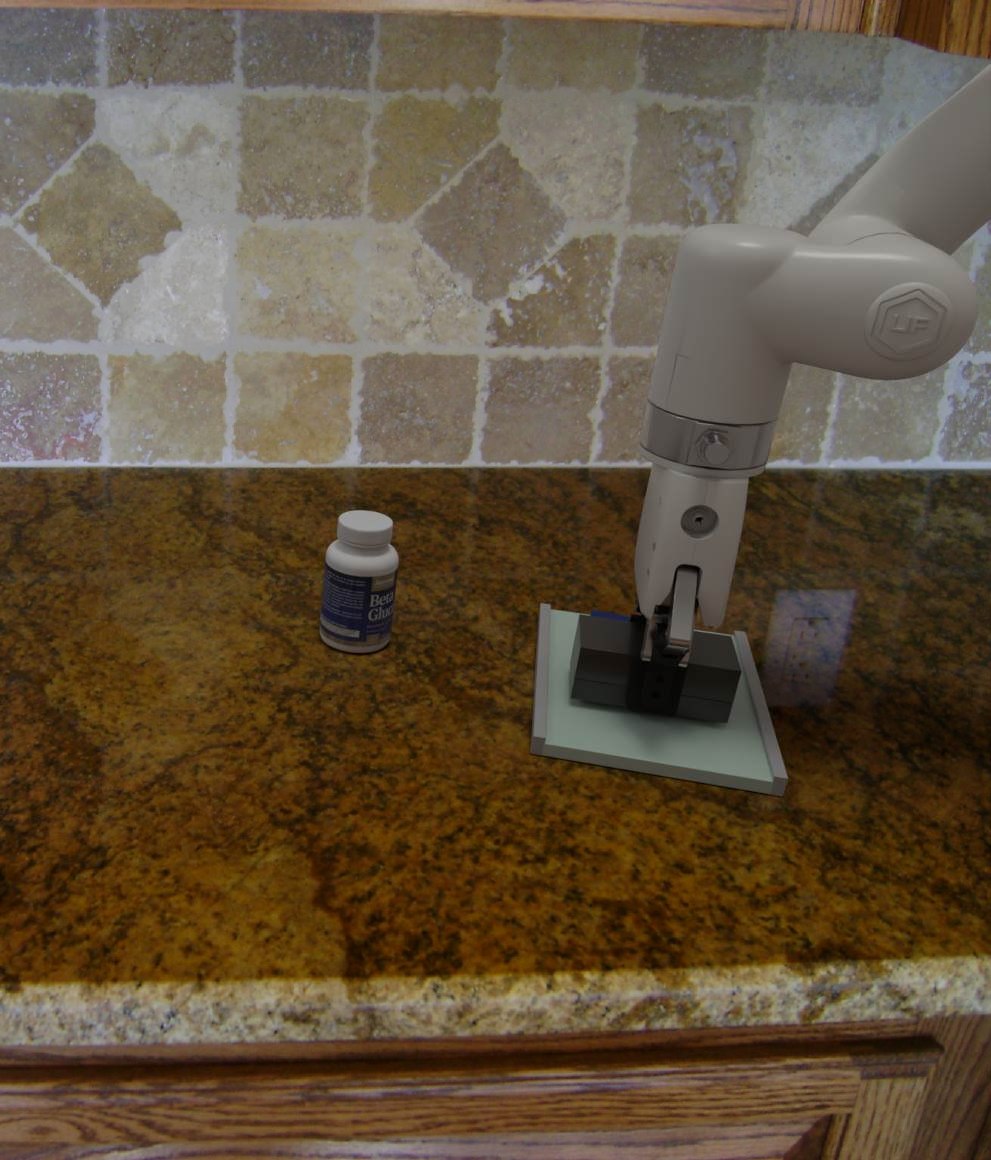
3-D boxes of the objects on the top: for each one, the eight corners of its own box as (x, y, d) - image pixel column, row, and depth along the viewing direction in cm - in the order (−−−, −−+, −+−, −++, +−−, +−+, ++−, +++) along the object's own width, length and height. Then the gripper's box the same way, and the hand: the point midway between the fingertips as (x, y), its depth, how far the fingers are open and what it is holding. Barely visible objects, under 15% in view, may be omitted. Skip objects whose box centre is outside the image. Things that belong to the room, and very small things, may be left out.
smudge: (643, 628, 89) (645, 619, 89) (640, 652, 86) (642, 642, 86) (589, 618, 91) (591, 609, 90) (584, 641, 87) (586, 631, 87)
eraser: (718, 686, 81) (731, 635, 79) (727, 724, 76) (742, 671, 75) (569, 663, 83) (579, 613, 81) (570, 698, 78) (580, 646, 77)
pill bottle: (374, 662, 85) (386, 540, 81) (307, 643, 88) (316, 524, 83) (400, 632, 90) (413, 515, 85) (336, 615, 92) (346, 500, 88)
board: (741, 647, 89) (745, 631, 89) (783, 797, 72) (788, 778, 71) (537, 618, 93) (540, 602, 92) (530, 753, 75) (533, 735, 75)
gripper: (795, 490, 63) (720, 768, 71) (750, 403, 78) (691, 641, 86) (651, 473, 65) (593, 746, 73) (633, 391, 80) (587, 625, 88)
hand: (647, 687), depth 79 cm, fingers closed on eraser, 5 cm apart
